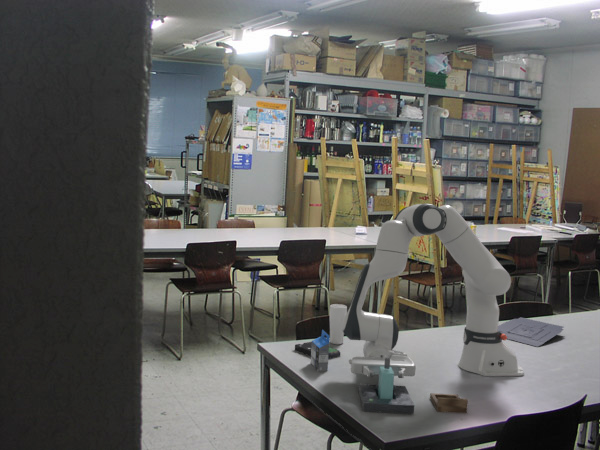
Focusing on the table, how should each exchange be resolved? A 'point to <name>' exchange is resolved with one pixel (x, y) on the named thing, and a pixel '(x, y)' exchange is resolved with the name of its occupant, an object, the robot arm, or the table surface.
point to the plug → (386, 381)
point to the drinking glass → (337, 323)
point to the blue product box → (320, 352)
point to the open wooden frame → (449, 403)
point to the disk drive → (306, 350)
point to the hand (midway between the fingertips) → (385, 375)
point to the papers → (529, 331)
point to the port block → (385, 400)
